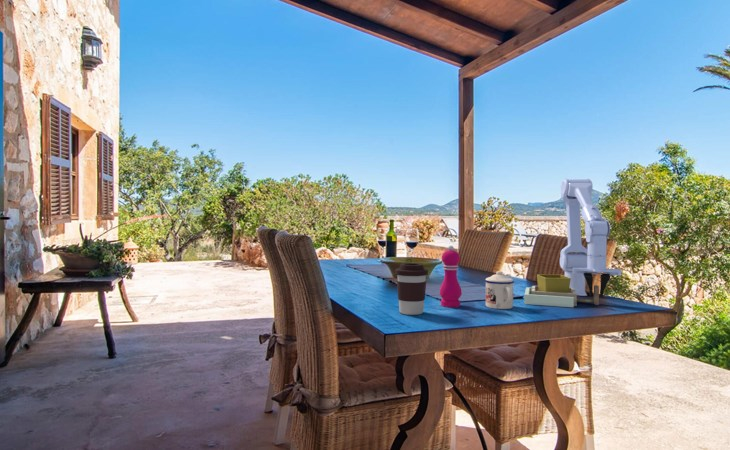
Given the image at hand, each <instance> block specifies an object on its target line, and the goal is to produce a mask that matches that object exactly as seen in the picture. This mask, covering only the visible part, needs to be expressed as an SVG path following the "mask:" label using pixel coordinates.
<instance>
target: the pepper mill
mask: <svg viewBox="0 0 730 450" xmlns="http://www.w3.org/2000/svg"><path fill="white" fill-rule="evenodd" d="M447 249H448V250H445V251H444V252H443V253H442V255H441V262H442V263H443V265H442V269H443V271H444V278H443V281H442V283H441V286H440V288H439V295H440V297H441V298H442V299H441V300H440V306H442V307H445V308H459V307H461V300H460V299H459V298H461V296H462V287H461V285H460V283H459V281H458V273H457V272H458V270H459V265H458V264H459V262H460V260H461V256H460V254H459V252H458V251H456V250H454V246H453V245H449V246H448V247H447Z"/></svg>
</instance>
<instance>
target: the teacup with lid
mask: <svg viewBox="0 0 730 450" xmlns="http://www.w3.org/2000/svg"><path fill="white" fill-rule="evenodd" d="M503 273H504V272H503V271H501V270H498V271H496V274H492V275H491V276H489V277H486V278H485V280H484V282H485V306H486V307H487V308H489V309H495V310H508V309H509V310H510V309H512V308H513V307H514V283H515V281H514V279H513V278H510V277H508V276H507V275H505V274H503Z"/></svg>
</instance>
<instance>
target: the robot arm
mask: <svg viewBox="0 0 730 450" xmlns="http://www.w3.org/2000/svg"><path fill="white" fill-rule="evenodd" d="M560 184H561V185H560V197H561V201H562V202H563V203H565V208H566V209H565V210H566V229H567V230H566V232H567V233H566V235H567V245H566V246H565V247H563V248H562V249H561V250H560V257H559V267H560V268H561V269H562V270H563V271H564V276H566V277H569V278H571V281H570V287H569V288H574V289H575V291H576V293H577V296H582V297H583V296H584V297H585V296H586V297H587V296H588V294H587V292H586V283H587V287H588V291H589V296H590V297H594V288H593V279H594V277H593V275H599V276H600V277H599V279H600V286H599V297H604V293H605V289H606V287H607V285H608V282H609V281H610V278H611V276H617V277H618V276H619V277H621V276H622V269H621V268H618V269H617V268H607V244H608V243H607V238H608V237H609V235H610V233H611V232H610V231H611V225H610V222H609V220H608V219H606V218H604V217H603V216H602V213H601V211H600V208H599V206H597V205H596V204H594V202H593V199H592V192H593V182H592V180H591V179H590V178H586V179H585V178H584V179H583V178H582V179H581V178H580V179H578V178H577V179H576V178H575V179H572V178H571V179H568V178H564V179H563V180H562V182H561V183H560ZM581 208H582V209H581ZM581 216H582V220H583V222H584V224H585V225H584V234H585V241H586V242H587V248H586V247H584V245H583V244H582V226H581V225H582V223H581V222H582V221H581Z"/></svg>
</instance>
